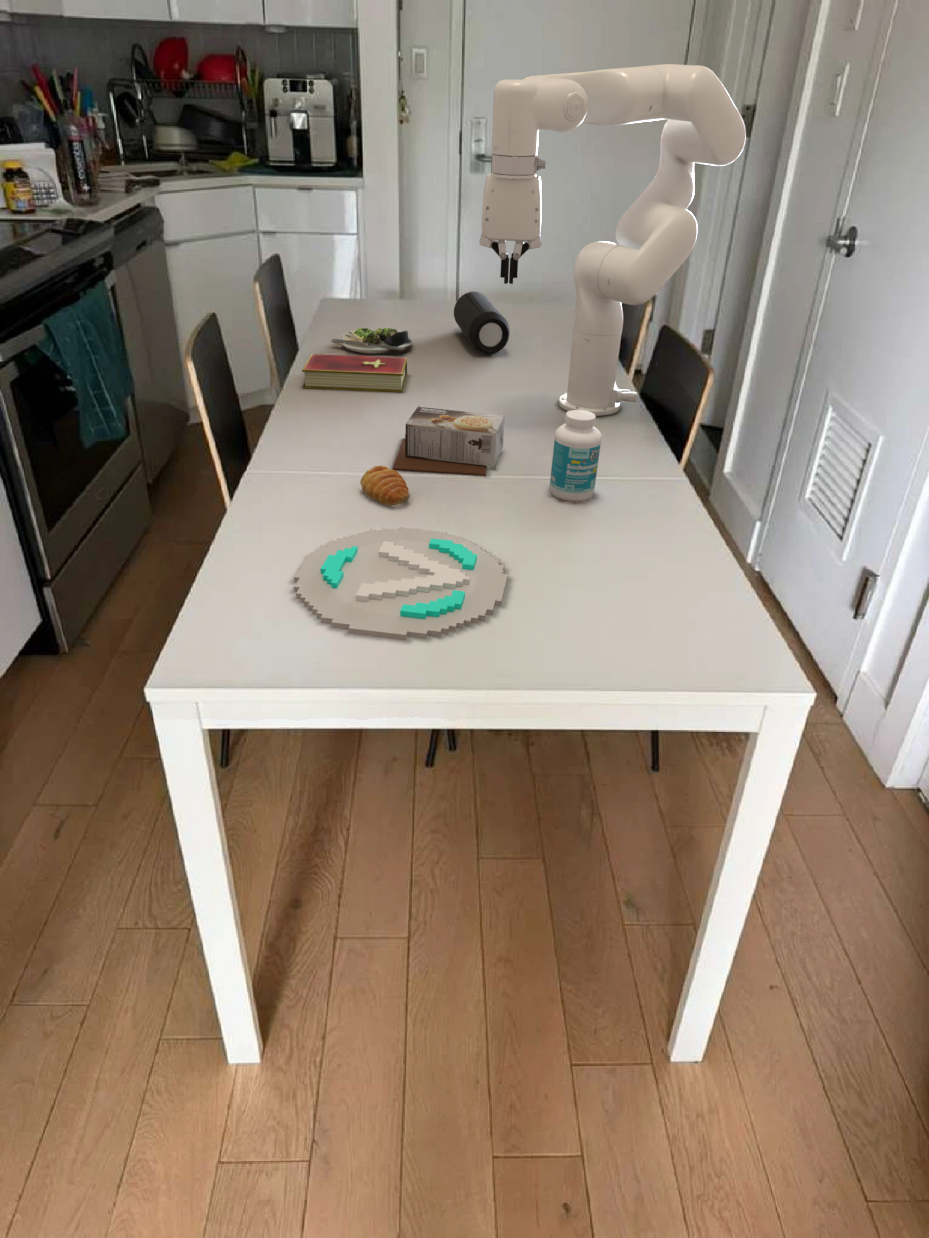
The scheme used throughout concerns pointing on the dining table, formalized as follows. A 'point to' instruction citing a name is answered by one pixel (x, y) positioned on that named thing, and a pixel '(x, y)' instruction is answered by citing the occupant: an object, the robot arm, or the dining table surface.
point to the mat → (434, 465)
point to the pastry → (385, 486)
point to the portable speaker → (481, 323)
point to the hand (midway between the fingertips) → (508, 282)
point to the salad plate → (376, 341)
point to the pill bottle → (575, 457)
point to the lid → (401, 583)
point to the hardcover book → (355, 373)
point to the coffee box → (454, 436)
